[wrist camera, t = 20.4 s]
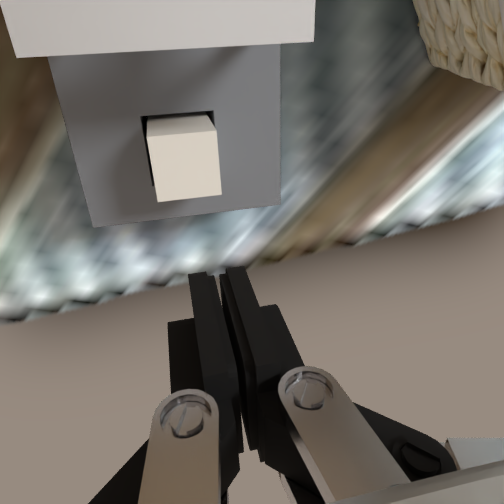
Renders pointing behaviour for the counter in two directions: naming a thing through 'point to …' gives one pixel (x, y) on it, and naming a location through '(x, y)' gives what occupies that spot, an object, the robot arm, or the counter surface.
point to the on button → (183, 155)
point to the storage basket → (465, 37)
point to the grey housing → (164, 90)
